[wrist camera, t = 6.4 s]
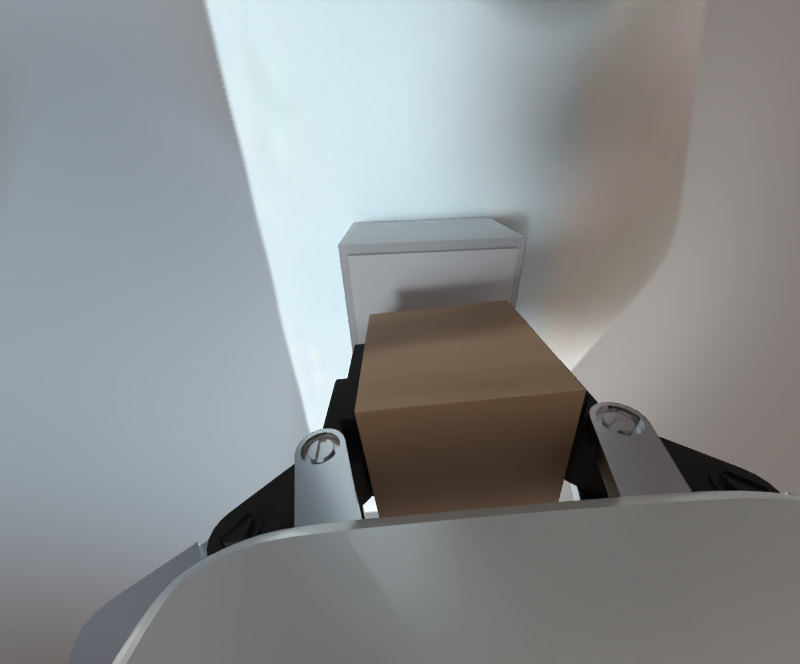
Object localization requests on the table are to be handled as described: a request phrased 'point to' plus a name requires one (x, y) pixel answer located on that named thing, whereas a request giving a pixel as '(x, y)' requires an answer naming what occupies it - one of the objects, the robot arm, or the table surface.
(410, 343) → the walnut block
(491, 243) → the stoneware box
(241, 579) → the robot arm
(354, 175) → the table surface
